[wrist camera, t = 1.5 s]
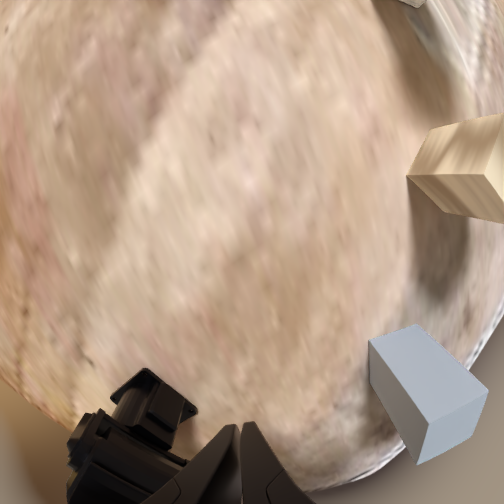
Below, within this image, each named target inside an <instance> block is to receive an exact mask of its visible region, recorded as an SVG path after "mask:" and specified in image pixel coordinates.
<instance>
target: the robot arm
mask: <svg viewBox="0 0 504 504" xmlns="http://www.w3.org/2000/svg"><path fill="white" fill-rule="evenodd" d="M144 373H147V375H146V374H144ZM110 399H111V400H112V401H113V402H114V403H115V404H116V405H117V407H116V408H115V410H114V412H113V414H112V416H111V417H110V416H109V415H108V414H106V413H105V411H104V410H102V409H101V408H100V409H99V410H98V411H97V413H93V414H90V413H85V414H84V416H83V417H82V419H81V420H80V422H79V423H78V425H77V427H76V428H75V430H74V432H73V433H72V435H71V437H70V438H69V440H68V442H67V447H68V451H69V455H68V458H69V459H68V462H67V464H66V465H67V466H68V467H69V468H71V469H72V470H73V471H72V473H71V475H70V477H69V478H68V480H67V483H66V494H67V502H68V504H241V498H242V493H243V504H316V503H315V502H313V501H312V500H311V499H310V498H309V497H308V496H307V495H306V494H305V493H304V492H303V491H302V490H301V489H300V488H299V487H298V486H297V485H296V484H295V482H294V481H293V480H292V478H291V477H290V476H289V474H288V473H287V471H286V470H285V469H284V467H283V466H282V464H281V463H280V461H279V460H278V458H277V457H276V455H275V453H274V452H273V450H272V449H271V447H270V446H269V444H268V442H267V441H266V439H265V438H264V436H263V434H262V433H261V431H260V430H259V428H258V426H257V425H256V423H255V422H254V421H252V422H245V423H244V424H243V428H242V433H241V434H240V431H239V429H238V426H237V425H236V424H230V425H225V426H224V427H223V428H222V429H221V430H220V431H219V432H218V434H217V435H216V436H215V437H214V438H213V439H212V440H211V441H210V442H209V443H208V444H207V445H206V446H205V447H204V448H203V449H202V450H201V451H200V452H199V453H198V454H197V455H196V456H195V457H194V458H193V459H192V460H191V461H188V460H186V459H185V460H184V459H182V458H180V457H178V456H176V455H174V454H172V453H170V450H171V448H172V446H173V442H174V438H175V434H176V430H177V429H178V425H179V424H180V423H181V422H183V421H185V420H186V419H188V418H190V417H191V416H193V415H195V414H196V411H197V408H196V407H195V406H194V405H192V404H191V403H190V402H189V401H187V400H186V399H185V398H183V397H182V396H181V395H179V394H178V393H177V392H176V391H174V390H173V389H172V388H171V387H169V386H168V385H167V384H166V383H165V382H163V381H162V380H161V379H160V378H159V377H157V376H156V375H155V374H154V373H153V372H151V371H150V370H149V369H147V368H143V369H141V370H140V371H139V372H138V373H136V374H135V375H134V376H133V377H132V378H130V379H129V380H128V381H127V382H126V383H124V384H123V385H122V386H121V387H120V388H118V389H117V390H116V391H115V392H114V393H112V395H111V396H110ZM192 410H193V411H192Z"/></svg>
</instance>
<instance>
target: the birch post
mask: <svg viewBox="0 0 504 504" xmlns="http://www.w3.org/2000/svg"><path fill="white" fill-rule="evenodd" d="M406 176H407V177H408V178H410V179H411V180H412V181H413V182H414V183H415V184H416V185H417V186H418V187H419V188H420V189H421V190H422V191H423V192H424V193H425V194H426V195H427V196H428V197H429V198H430V199H431V200H432V201H433V202H434V203H435V204H436V205H437V206H438V207H439V208H440V209H441V210H442V211H443V212H446V213H452V214H457V215H462V216H468V217H473V218H477V219H482V220H487V221H492V222H496V223H501V224H504V113H499V114H495V115H490V116H485V117H480V118H476V119H471V120H467V121H463V122H458V123H454V124H450V125H446V126H442V127H438V128H434V129H430V131H429V133H428V135H427V137H426V139H425V141H424V143H423V145H422V147H421V148H420V150H419V152H418V154H417V156H416V158H415V160H414V162H413V163H412V165H411V167H410V169H409V171H408V173H407V174H406Z"/></svg>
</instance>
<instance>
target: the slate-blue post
mask: <svg viewBox="0 0 504 504" xmlns="http://www.w3.org/2000/svg"><path fill="white" fill-rule="evenodd" d="M369 375H370V384H371V386H372V387H373V389H374V391H375V393H376V394H377V396H378V398H379V400H380V401H381V403H382V405H383V407H384V408H385V410H386V412H387V414H388V415H389V417H390V419H391V421H392V422H393V424H394V426H395V428H396V429H397V431H398V433H399V435H400V437H401V438H402V440H403V442H404V444H405V446H406V448H407V449H408V451H409V453H410V455H411V457H412V458H413V460H414V462H415V464H416V465H419V464H421V463H423V462H425V461H427V460H429V459H431V458H433V457H435V456H437V455H439V454H441V453H443V452H445V451H447V450H449V449H450V448H452V447H454V446H456V445H458V444H460V443H461V442H463V441H464V440H466V439H468V438H470V437H471V436H472V434H473V431H474V429H475V427H476V424H477V422H478V419H479V417H480V414H481V411H482V409H483V406H484V403H485V400H486V397H487V395H488V391H489V390H488V389H487V388H486V387H485V386H483V384H482V383H480V381H479V380H477V379H476V378H475V377H474V376H473V375H472V374H471V373H470V372H469V371H468V370H467V369H466V368H465V367H464V366H463V365H462V364H461V363H460V362H459V361H458V360H456V359H455V358H454V357H453V356H452V355H451V354H450V353H449V352H448V351H447V350H446V349H445V348H443V347H442V346H441V345H440V344H439V343H438V342H437V341H436V340H435V339H434V338H432V337H431V336H430V335H429V334H428V333H427V332H426V331H425V330H423V329H422V328H421V327H420V326H419V325H418V324H414V325H412V326H409V327H406V328H403V329H400V330H398V331H395V332H392V333H389V334H386V335H383V336H379V337H376V338H373V339H370V340H369Z"/></svg>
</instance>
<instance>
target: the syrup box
mask: <svg viewBox="0 0 504 504" xmlns="http://www.w3.org/2000/svg"><path fill="white" fill-rule="evenodd" d="M399 1H402V2H404V3H406V4H409V5H411V6H413V7H415V8H419V7H420V6H421V5H422V4H423V3H424V2H425V1H427V0H399Z"/></svg>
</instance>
